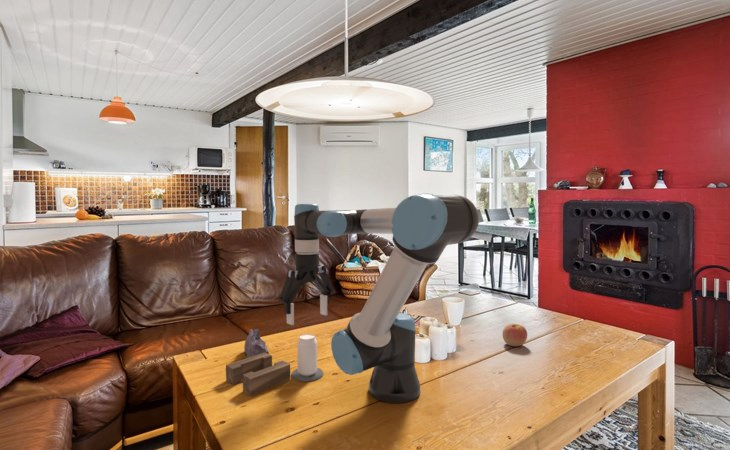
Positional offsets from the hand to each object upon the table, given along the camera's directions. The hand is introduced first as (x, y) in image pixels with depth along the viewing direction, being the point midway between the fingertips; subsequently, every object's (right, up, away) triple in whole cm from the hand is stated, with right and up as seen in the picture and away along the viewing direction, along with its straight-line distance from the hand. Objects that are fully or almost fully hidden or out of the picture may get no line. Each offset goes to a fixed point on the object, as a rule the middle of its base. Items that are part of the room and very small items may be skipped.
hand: (307, 319), depth 127 cm
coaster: (0, -18, +1) cm, 18 cm away
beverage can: (0, -18, +1) cm, 18 cm away
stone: (-21, -17, +15) cm, 31 cm away
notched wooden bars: (-15, -18, -3) cm, 24 cm away
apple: (+76, -17, +29) cm, 83 cm away
